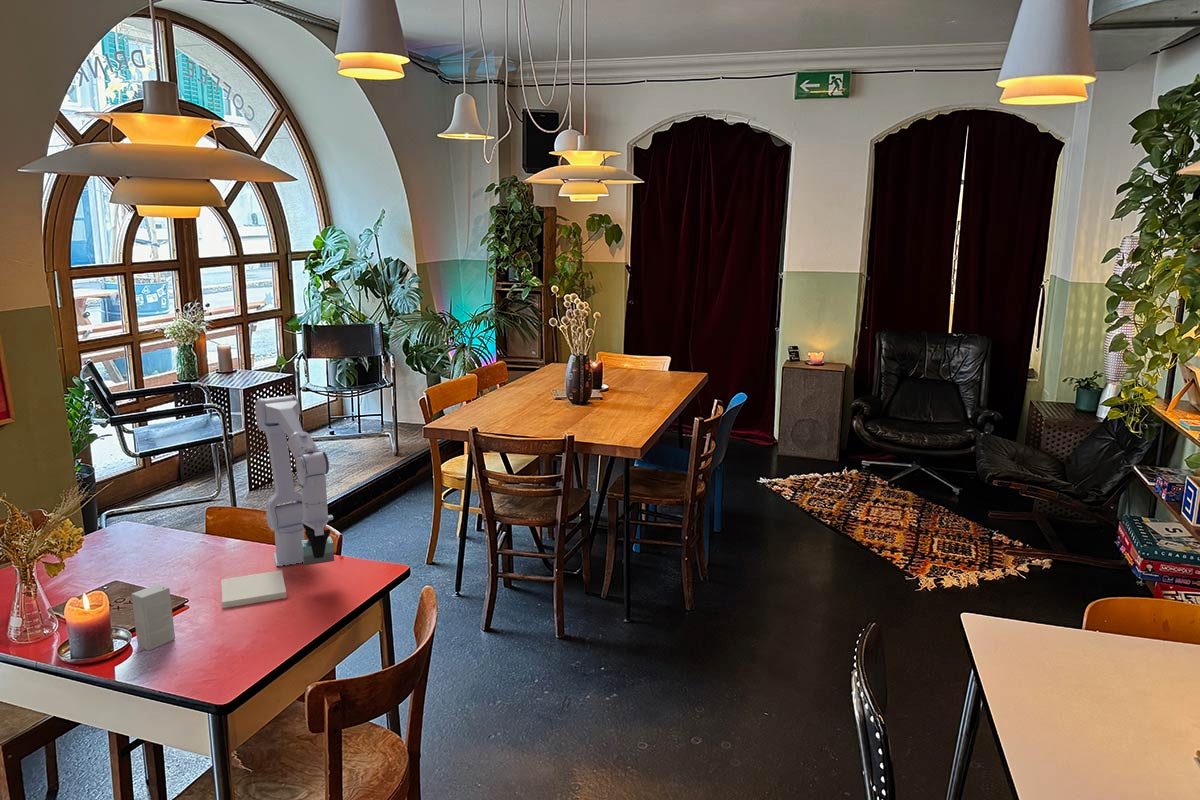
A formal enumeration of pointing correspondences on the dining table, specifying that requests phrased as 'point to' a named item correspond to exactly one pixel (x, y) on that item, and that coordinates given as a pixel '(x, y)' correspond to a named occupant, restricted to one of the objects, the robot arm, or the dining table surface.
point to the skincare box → (153, 616)
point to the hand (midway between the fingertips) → (317, 553)
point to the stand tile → (253, 589)
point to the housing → (309, 557)
